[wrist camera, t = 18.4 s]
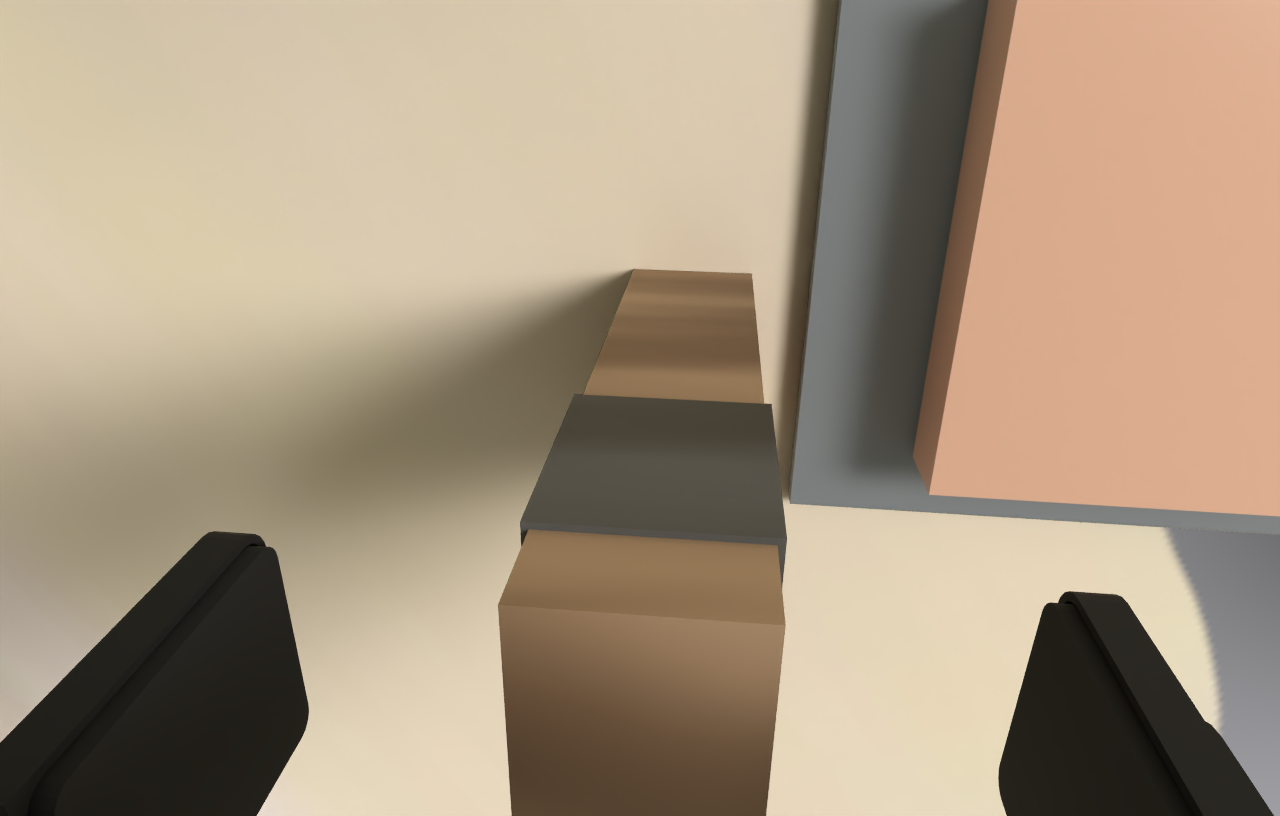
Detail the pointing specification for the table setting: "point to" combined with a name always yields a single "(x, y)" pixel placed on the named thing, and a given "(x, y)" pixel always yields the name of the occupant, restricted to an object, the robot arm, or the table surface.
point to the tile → (1114, 262)
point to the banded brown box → (652, 572)
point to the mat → (900, 268)
